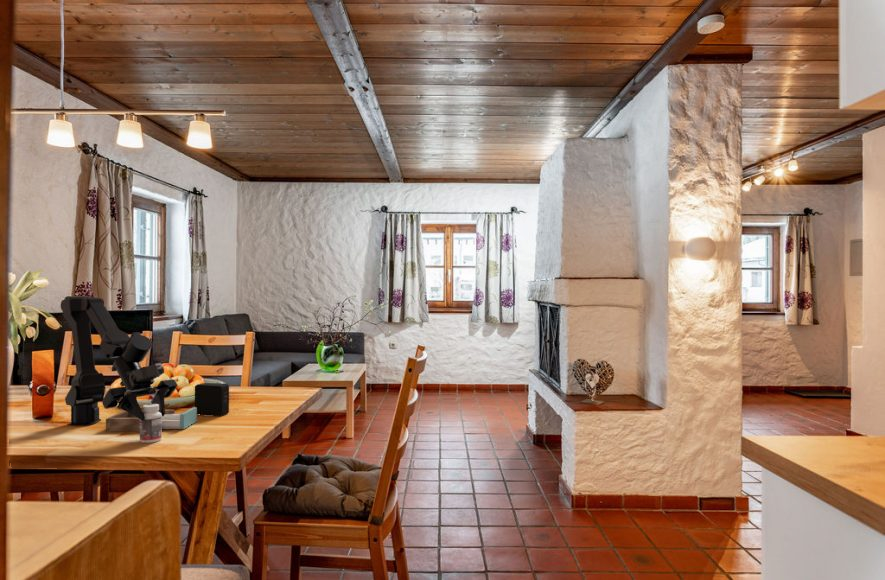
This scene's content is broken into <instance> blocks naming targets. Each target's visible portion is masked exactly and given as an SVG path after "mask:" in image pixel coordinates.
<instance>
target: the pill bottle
mask: <svg viewBox="0 0 885 580" xmlns="http://www.w3.org/2000/svg"><path fill="white" fill-rule="evenodd" d="M141 410H143V412H144V413H143V414H144V416H145V419H144V420H143V421H142V420H140V431H139V442H140V443H141V444H142V443H143V444H149V443H150V444H151V443H157V442H159V441H161V440H162V439H163V437H162V434H163V431H162V430H163V429H162V414H161V413H160V412H158V410H159V404H152V403H148V404H144V405H142V408H141Z"/></svg>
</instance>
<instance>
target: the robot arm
mask: <svg viewBox="0 0 885 580" xmlns="http://www.w3.org/2000/svg"><path fill="white" fill-rule="evenodd" d="M60 309H61V311H62V316H63V318H64V319H65V320H66V322H67V323H68V324H69V325H70V327H71V336H72V337H71V338H72V345H73V355H74V363H75V370H76V371H75V374H74V375H73V377H72V380H71V381H70V383H71V385H70V386H71V387H70V389H69V391H68V392H67V394H66V395H65V397H64V400H65V405H67V406H70V422H68V423H67V426H91V425H94V424H95V423H98V422H100V421H102V419H101V418H100V407H99V403H102V406H103V408H104V409H105V410H106V409H107V410H108V409H113V408H117V409H118V410H123V411H127V412H129V413H131V414H132V415H134V416H135V417H137V418H139V419H140V420H142V421H143V420H144V419H145V416H144V414H143V412H142V408H141V405H140V404H139V402H138V399H137V398H139V397H145V396H151V397H152V399H151V401H150V404H159V410H158V412H160V413H161V414H162V416H164V415H165V410H166V407H165V399H168V398H170V397H171V396H172V394H173V393H174V391H175V390H176V389H177V387H179V385H178V383H177V381H176V380H175V379H173V378H171V379H164V380H160V381H159V383H158V384H157V386H152V385H153V384H154V383H155V379H157V378H159V377H160V376H162V375H163V374H164V373H165V368H164V366H163V365H162V363H161V362H158V363H154V364H153V365H147V366H142V367H141V364H140V363H141V362H142V361H144V360H145V358H146V357H147V355H148V353H149V352H150V350H151V349H152V347H153V341H152V339H150V338H149V337H147V336H145V335H142V334H141V333H140V331H139V332H137V331H136V332H132V333H131V335H128V333H127V332H125V331H123V330H121V329H119V328H118V326H117V323H115V321H114V319H113V318H112V315H111V314H110V312H109V311H108V309H107V307H106V306H105V301H104V299H103V298H101V297H91V296H89V295H70V296H69V295H68V296H66V297H64V299H63V300H61V302H60ZM91 323H92V324H93V326H94V328H95V329H96V331H97V334H98V335H99V337H100V339H101V340H100V343H99V348H100V352H101V354H102V355H103V356H104V358H106V359H113V358H114V361H113V363H112V366H111V372H117V374H118V376H119V378H120V380H121V381H120V383H119V384H120V386H118V387H111V388H109V389H108V390H107V389H106V383H105V380H104V377H105V375H104V374H103V373H102V372H100V373H99V371H98V370H97V369H96V363H95V356H94V355H95V354H94V347H93V342H92V341H93V339H92V332H91V331H92V330H91ZM106 390H107V392H106ZM105 393H106V394H105Z"/></svg>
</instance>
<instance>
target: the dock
mask: <svg viewBox="0 0 885 580" xmlns="http://www.w3.org/2000/svg"><path fill="white" fill-rule="evenodd" d="M141 410H142V409H141ZM142 412H143V410H142ZM143 413H144V412H143ZM165 414H175V409H165ZM105 432H140V419H139V418H137V417H135V416H134V415H132V414H131V413H129V412H127V411H125V410H123V411H120V412H119V413H116V414H114V415H112V416H109V417H106V418H105Z"/></svg>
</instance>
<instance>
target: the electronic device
mask: <svg viewBox="0 0 885 580" xmlns="http://www.w3.org/2000/svg"><path fill="white" fill-rule="evenodd" d="M194 407H197V414H200V415H199V416H204V415H213V416H212V417H222V416H225V415H228V414H229V413H230V385H229V384H228V383H218V382H217V383H216V382H215V383H214V382H201V383H199V384H198V383H197V384H196V385H195V386H194Z"/></svg>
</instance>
